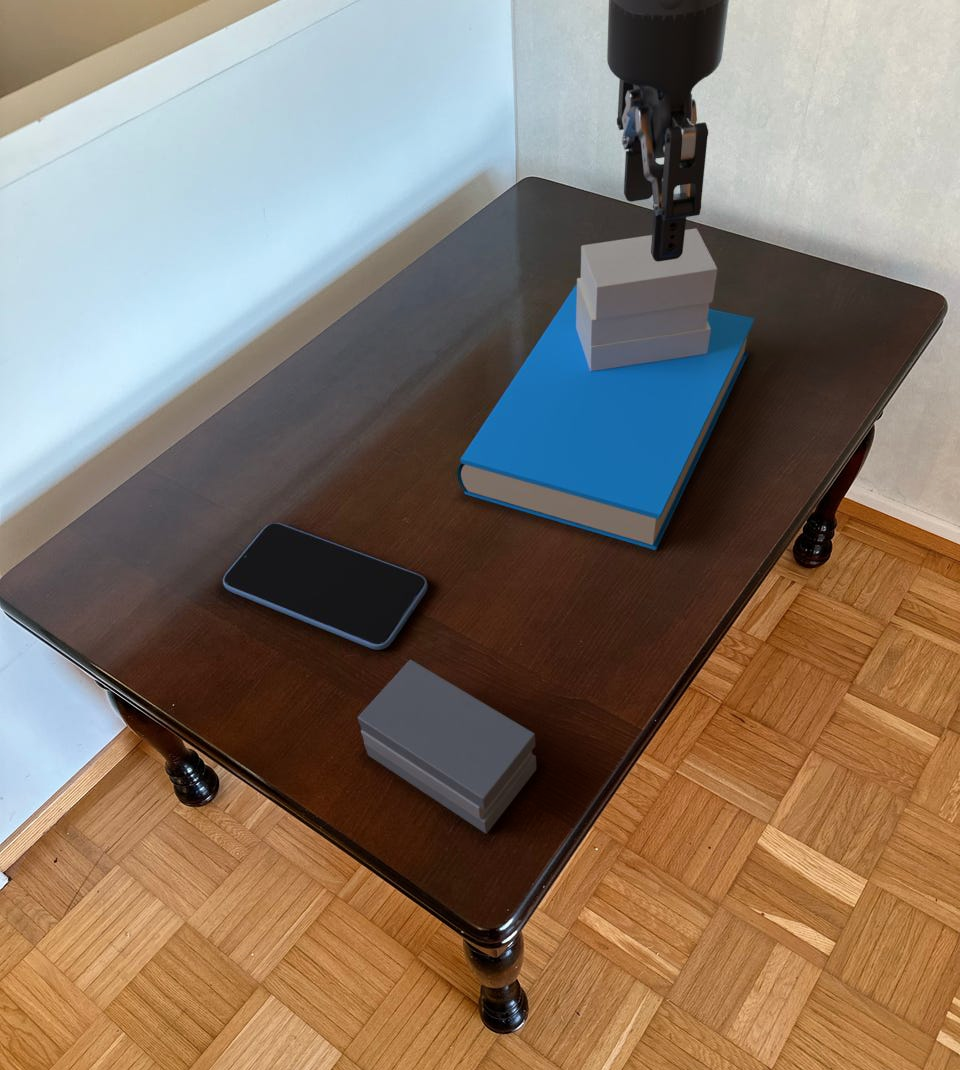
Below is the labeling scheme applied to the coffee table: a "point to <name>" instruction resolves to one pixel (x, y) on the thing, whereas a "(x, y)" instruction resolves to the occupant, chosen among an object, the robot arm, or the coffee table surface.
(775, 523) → the coffee table surface
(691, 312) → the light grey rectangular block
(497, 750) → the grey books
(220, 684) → the coffee table surface
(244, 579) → the smartphone
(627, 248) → the light grey block
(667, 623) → the coffee table surface
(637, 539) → the book
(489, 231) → the coffee table surface
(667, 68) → the robot arm
